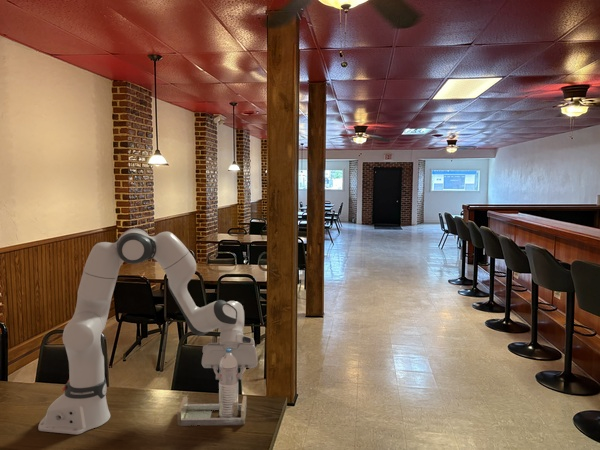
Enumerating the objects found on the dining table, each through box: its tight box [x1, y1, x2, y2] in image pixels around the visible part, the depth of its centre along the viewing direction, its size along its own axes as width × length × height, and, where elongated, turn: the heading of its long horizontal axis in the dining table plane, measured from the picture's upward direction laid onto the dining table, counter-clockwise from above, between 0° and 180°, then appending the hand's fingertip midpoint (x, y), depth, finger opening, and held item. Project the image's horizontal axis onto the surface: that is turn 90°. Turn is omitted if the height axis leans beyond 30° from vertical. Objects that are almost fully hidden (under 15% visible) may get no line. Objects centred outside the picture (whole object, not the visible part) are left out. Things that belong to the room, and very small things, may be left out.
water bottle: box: [218, 349, 239, 418], centre depth 160 cm, size 7×7×25 cm
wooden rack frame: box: [176, 395, 247, 427], centre depth 161 cm, size 23×11×5 cm, turn 93°
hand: (228, 378), depth 160 cm, fingers closed on water bottle, 6 cm apart
